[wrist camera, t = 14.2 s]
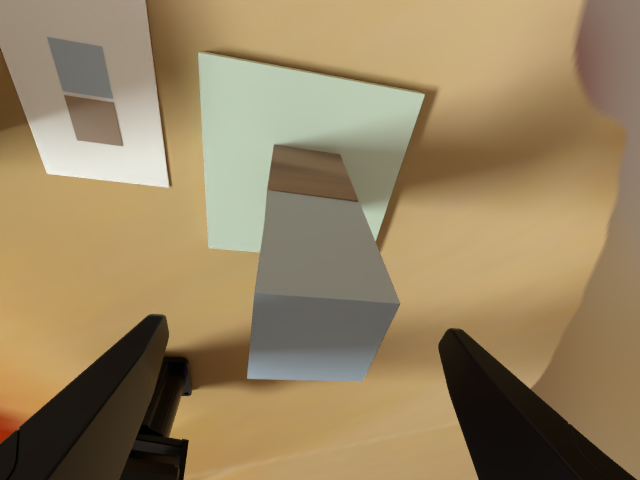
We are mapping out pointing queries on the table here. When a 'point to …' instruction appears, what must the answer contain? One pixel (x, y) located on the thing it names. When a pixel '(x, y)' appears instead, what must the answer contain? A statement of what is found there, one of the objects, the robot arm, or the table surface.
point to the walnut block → (309, 174)
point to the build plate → (293, 138)
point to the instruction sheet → (87, 86)
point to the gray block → (318, 292)
